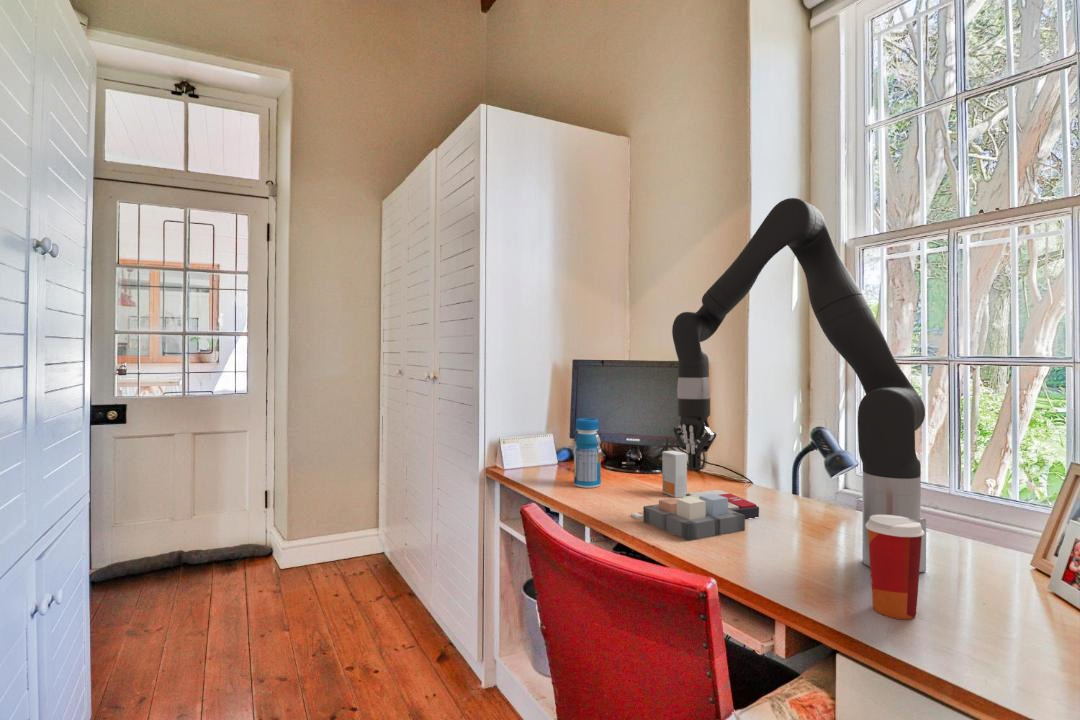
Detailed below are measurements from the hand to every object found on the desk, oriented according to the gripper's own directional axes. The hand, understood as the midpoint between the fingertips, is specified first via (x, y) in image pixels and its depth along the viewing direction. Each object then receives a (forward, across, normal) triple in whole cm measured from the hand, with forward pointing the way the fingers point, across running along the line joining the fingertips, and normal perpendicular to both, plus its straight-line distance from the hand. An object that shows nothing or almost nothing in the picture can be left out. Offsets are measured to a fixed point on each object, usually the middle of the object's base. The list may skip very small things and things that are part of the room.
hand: (694, 469), depth 136 cm
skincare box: (+12, +22, -12) cm, 28 cm away
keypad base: (+12, -3, +3) cm, 13 cm away
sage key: (+11, 0, 0) cm, 11 cm away
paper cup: (+13, -51, +5) cm, 53 cm away
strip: (+12, +8, +3) cm, 15 cm away
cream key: (+9, -6, +6) cm, 13 cm away
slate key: (+9, -6, 0) cm, 11 cm away
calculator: (+13, +3, -11) cm, 17 cm away
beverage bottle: (+12, +43, +4) cm, 45 cm away
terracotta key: (+11, 0, +6) cm, 13 cm away
